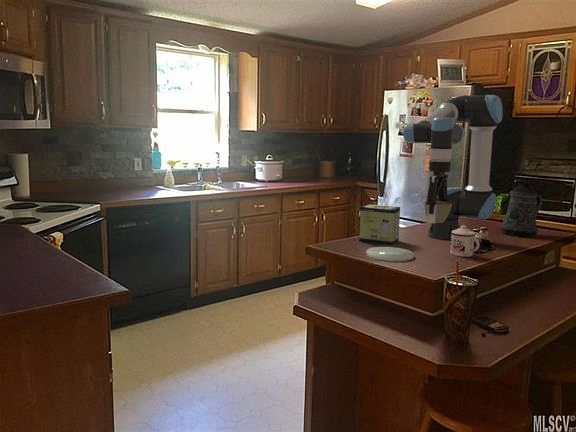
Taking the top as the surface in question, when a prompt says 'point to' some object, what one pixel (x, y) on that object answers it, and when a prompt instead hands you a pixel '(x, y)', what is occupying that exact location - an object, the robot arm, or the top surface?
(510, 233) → the beer stein
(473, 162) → the robot arm
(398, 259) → the dish
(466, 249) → the teacup with lid
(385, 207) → the protein box
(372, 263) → the top surface
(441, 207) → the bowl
